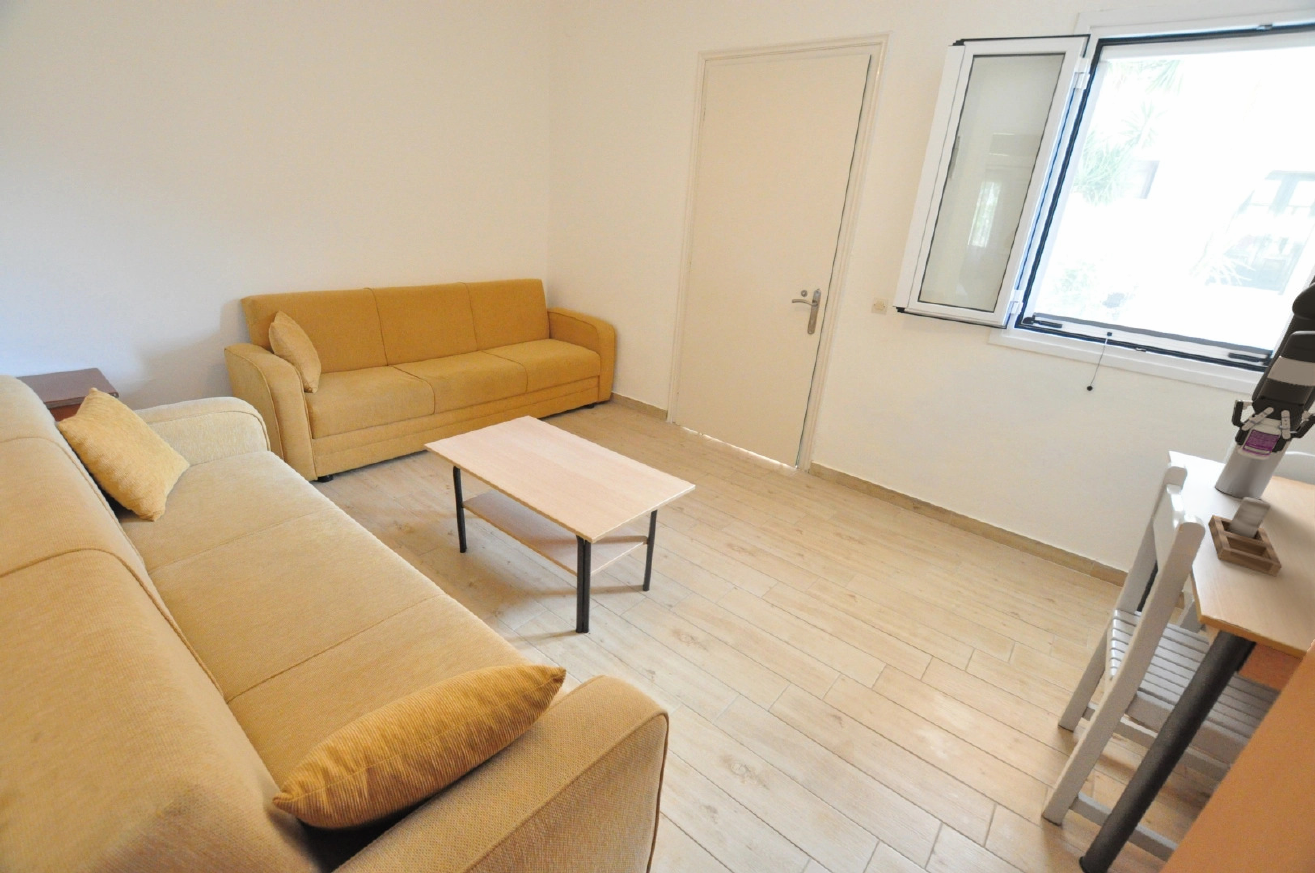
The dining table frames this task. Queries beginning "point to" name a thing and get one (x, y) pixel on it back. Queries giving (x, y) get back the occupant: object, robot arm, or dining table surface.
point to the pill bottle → (1261, 439)
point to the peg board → (1245, 538)
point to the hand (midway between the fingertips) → (1255, 447)
